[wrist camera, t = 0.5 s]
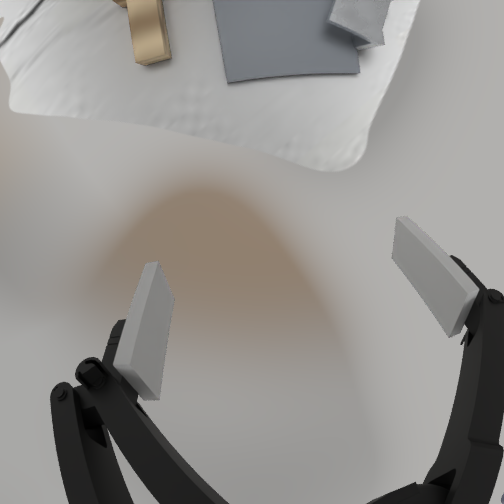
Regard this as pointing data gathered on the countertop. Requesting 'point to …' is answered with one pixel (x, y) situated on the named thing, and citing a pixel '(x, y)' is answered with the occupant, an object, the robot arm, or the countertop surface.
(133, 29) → the link
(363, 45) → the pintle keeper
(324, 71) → the base plate
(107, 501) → the robot arm
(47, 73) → the countertop surface
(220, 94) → the countertop surface
